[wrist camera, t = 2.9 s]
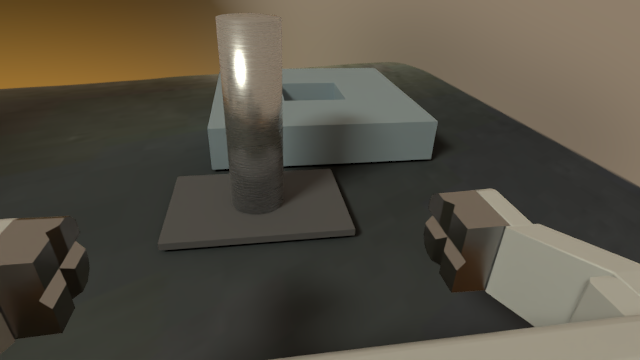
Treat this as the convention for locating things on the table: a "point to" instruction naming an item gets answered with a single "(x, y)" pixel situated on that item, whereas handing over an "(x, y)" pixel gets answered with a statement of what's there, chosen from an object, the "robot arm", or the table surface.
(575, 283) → the robot arm
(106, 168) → the table surface
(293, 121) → the grey square hole board
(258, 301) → the table surface
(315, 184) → the rubber mat
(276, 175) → the steel pin
